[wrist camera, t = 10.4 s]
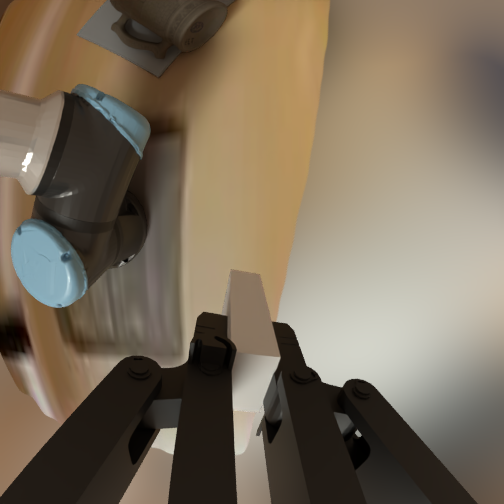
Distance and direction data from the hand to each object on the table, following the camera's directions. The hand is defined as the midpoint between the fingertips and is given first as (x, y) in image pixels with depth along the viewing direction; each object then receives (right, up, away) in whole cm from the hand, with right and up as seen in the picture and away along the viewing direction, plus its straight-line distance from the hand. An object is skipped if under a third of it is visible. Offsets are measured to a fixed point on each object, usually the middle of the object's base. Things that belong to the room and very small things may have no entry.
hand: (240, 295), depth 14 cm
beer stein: (-8, +35, +19) cm, 41 cm away
